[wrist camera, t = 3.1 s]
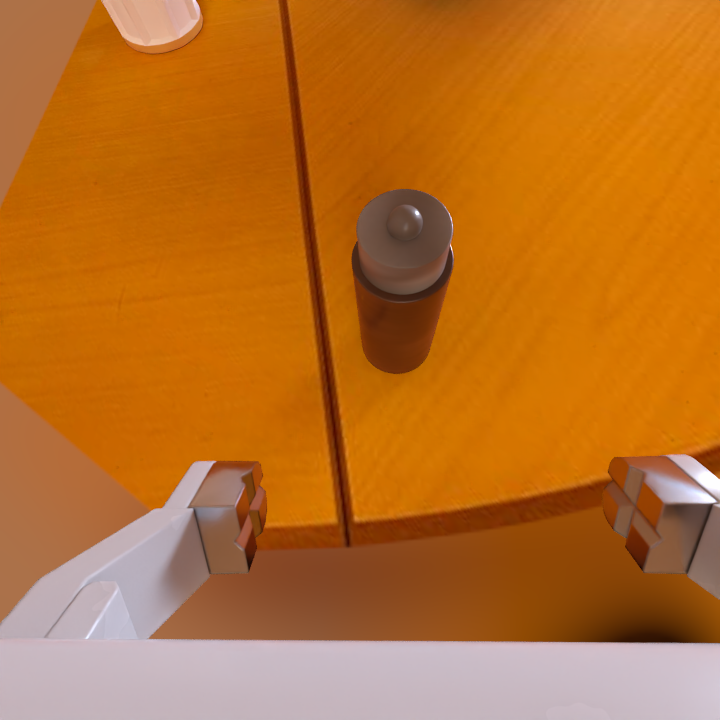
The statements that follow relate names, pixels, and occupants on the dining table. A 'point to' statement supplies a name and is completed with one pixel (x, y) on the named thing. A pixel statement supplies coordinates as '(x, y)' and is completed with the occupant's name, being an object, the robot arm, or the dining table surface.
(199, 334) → the dining table surface
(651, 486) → the robot arm
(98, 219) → the dining table surface
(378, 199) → the pepper mill
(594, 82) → the dining table surface
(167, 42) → the cup
